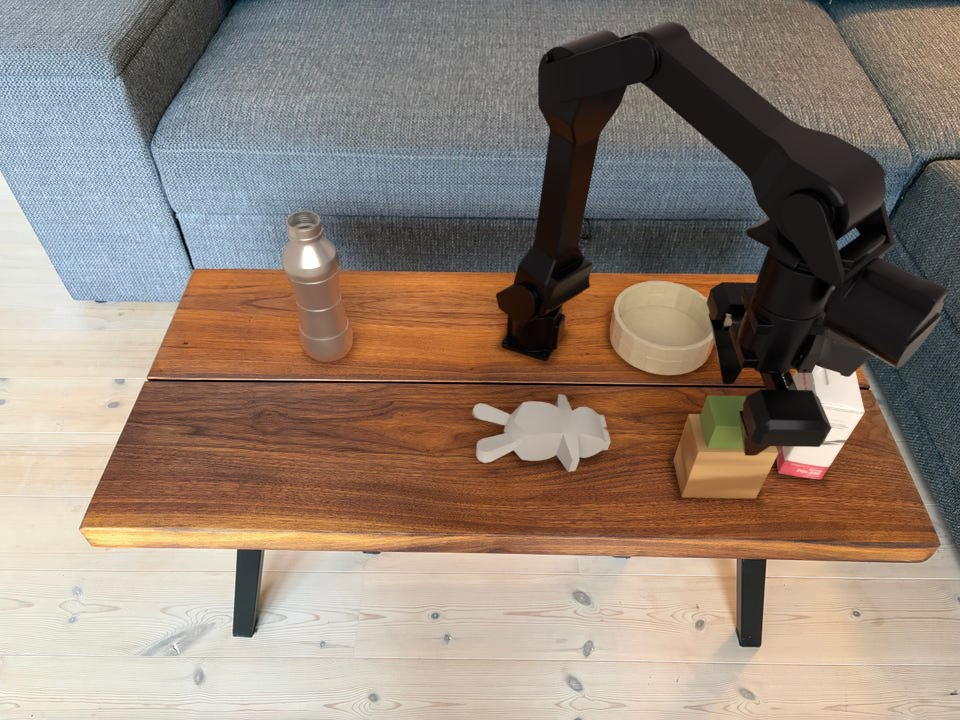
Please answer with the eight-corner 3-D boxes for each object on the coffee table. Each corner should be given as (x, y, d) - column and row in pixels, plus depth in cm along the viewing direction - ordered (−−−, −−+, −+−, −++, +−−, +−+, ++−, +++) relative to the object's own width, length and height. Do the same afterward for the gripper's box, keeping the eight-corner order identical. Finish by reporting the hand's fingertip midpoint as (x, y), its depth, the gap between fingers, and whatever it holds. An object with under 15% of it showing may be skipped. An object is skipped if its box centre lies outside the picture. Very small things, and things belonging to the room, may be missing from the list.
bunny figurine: (620, 453, 76) (480, 450, 74) (608, 481, 80) (474, 480, 78) (602, 387, 83) (473, 383, 81) (591, 416, 86) (468, 413, 84)
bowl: (721, 376, 90) (730, 350, 87) (615, 374, 90) (621, 349, 87) (699, 306, 99) (707, 281, 96) (604, 305, 99) (608, 279, 96)
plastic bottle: (341, 374, 89) (317, 242, 75) (293, 361, 91) (260, 230, 77) (364, 340, 94) (344, 210, 79) (317, 328, 95) (290, 198, 81)
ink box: (824, 482, 79) (867, 412, 70) (777, 474, 79) (813, 404, 71) (815, 423, 85) (853, 351, 76) (770, 416, 85) (803, 344, 77)
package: (767, 449, 72) (777, 426, 69) (707, 448, 72) (715, 426, 69) (756, 418, 75) (766, 395, 72) (699, 417, 75) (707, 395, 72)
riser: (755, 498, 77) (778, 453, 71) (681, 497, 77) (698, 452, 71) (744, 460, 81) (765, 414, 75) (673, 459, 81) (688, 413, 75)
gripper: (931, 380, 54) (852, 497, 65) (845, 233, 67) (791, 352, 78) (782, 378, 54) (729, 495, 65) (726, 232, 67) (689, 350, 78)
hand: (738, 417), depth 71 cm, fingers open, 9 cm apart
